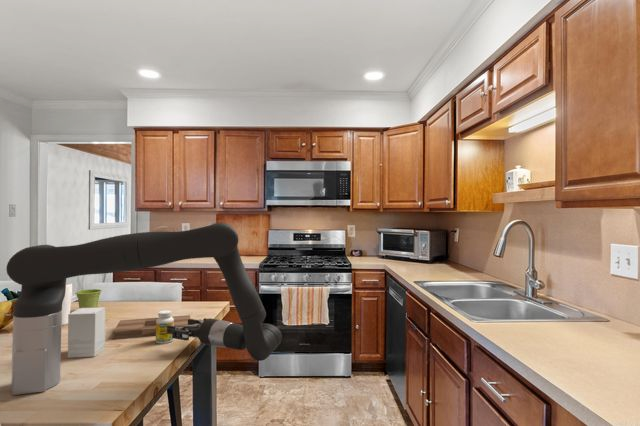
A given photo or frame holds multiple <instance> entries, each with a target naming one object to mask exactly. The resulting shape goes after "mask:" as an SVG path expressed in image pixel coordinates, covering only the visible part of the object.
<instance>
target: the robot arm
mask: <svg viewBox="0 0 640 426" xmlns="http://www.w3.org/2000/svg"><path fill="white" fill-rule="evenodd" d="M238 245H239V234H238V233H237V231H236V229H235V228H234V227H233V226H232V225H230V224H228V223H226V222H215V223H213V224H210V225H205V226H202V227H198V228H193V229H188V230H181V231H145V232H144V231H143V232H136V233H127V234H120V235H115V236H111V237H105V238H102V239H101V238H100V239H97V240H93V241H90V242H89V241H88V242H85V243H81V244H74V245H64V246H63V245H62V246H55V245H51V244H41V245H33V246H29V247H24V248H23V249H21V250H19V251H17V252H16V253H15V254H13V255H12V256H11V257H10V258H9V260H8V261H7V265H6V269H5V270H6V274H7V276H8V277H9V278H10V280H12V281H13V282H14V283H16V284H18V285H20V286H21V288H20V289H21V290H20V292H19V296H18V297H17V299H16V300H15V303H14V304H13V309H12V310H13V314H12V317H13V318H12V320H13V321H12V344H11V345H12V348H11V351H12V352H11V384H10V385H11V386H10V387H11V389H10V391H11V392H12V394H11V395H12V396H18V395H27V394H34V393H42V392H46V391H47V390H49V389H51V388H53V387H54V386H56V385H58V384H59V383H60V381H61V367H62V366H61V364H62V363H61V361H62V360H61V359H62V358H61V356H62V355H61V353H62V326H61V324H62V303H63V300H64V297H65V290H66V283H67V279H70V278H75V277H79V276H87V275H102V274H114V273H121V272H123V273H124V272H131V271H137V270H144V269H148V268H154V267H158V266H163V265H164V266H165V265H168V264H171V263H176V262H179V261H185V260H191V259H192V260H193V259H203V258H205V259H206V258H209V259H210V258H213V259H214V260H215V262H216V264H217V265H218V267H219V269H220V272H221V273H222V276H223V278H224V280H225V283H226V285H227V289H228V291H229V294H230V297H231V300H232V302H233V305H234V307H235V309H236V312H237V315H238V316H239V319H240V321H241V323H242V324H240V323H235V322H230V321H227V320H222V319H216V318H207V317H204V318H203V319H200V318H199V319H193V318H190V319H188V325H184V327H176V326H170V325H169V326H167V333H169V334H172V338H174V340H180V341H190V338H193V339H194V338H195V339H196V338H198V340H199V342H200V343H202V344H203V345H206V346H207V345H208V346H212V347H213V346H214V347H218V348H223V349H224V348H226V349H230V350H231V349H232V350H237V351H242V350H243V351H244V350H247V353H248V354H249V355H250V356H251V357H252V359H254V360H256V361H259V362H260V361H265V360H266V359H268V358H269V357H270V356H271V355H272V353H274V351H275V350H276V349H277V348H278V347H279V345H280V344H281V342H282V338H283V335H282V332H281V330H280V329H279V328H278V327H277V326H276V325H274V324H271V323H264V322H265V319H266V317H267V312H266V308H265V307H264V305H263V302H262V300H261V297H260V296H259V293H258V291H257V289H256V287H255V285H254V283H253V281H252V279H251V278H250V276H249V273H248V271H247V270H246V268H245V265H244V263H243V260H242V258H241V254H240V252H239V251H240V250H239V247H238ZM186 328H189V331H187V330H186Z"/></svg>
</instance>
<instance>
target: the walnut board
mask: <svg viewBox="0 0 640 426" xmlns="http://www.w3.org/2000/svg"><path fill="white" fill-rule="evenodd" d="M171 317H172V318H173V319H174V326H176V327H184V325H188V319H191V315H189V314H188V315H177V316H173V315H172V316H171ZM158 318H159V317H148V318H136V319H123V320H119V321H118V323H117V325H116V326H115V328H114V330H113V333H112V339H113V340H121V339H124V340H125V339H131V338H144V337H146V338H147V337H156V320H157V319H158ZM186 330H187V331H189V328H186Z"/></svg>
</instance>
